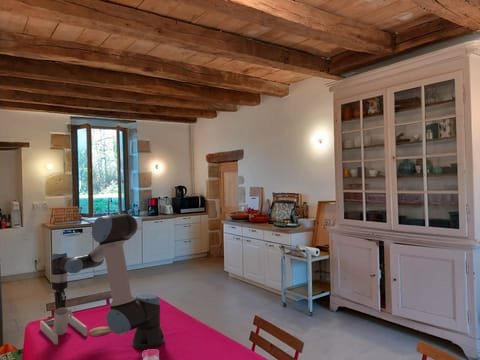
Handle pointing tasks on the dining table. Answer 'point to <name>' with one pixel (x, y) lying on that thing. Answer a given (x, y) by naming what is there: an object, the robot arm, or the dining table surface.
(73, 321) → the channel
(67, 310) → the mug
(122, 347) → the dining table surface
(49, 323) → the pad
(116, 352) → the dining table surface
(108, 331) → the coaster
